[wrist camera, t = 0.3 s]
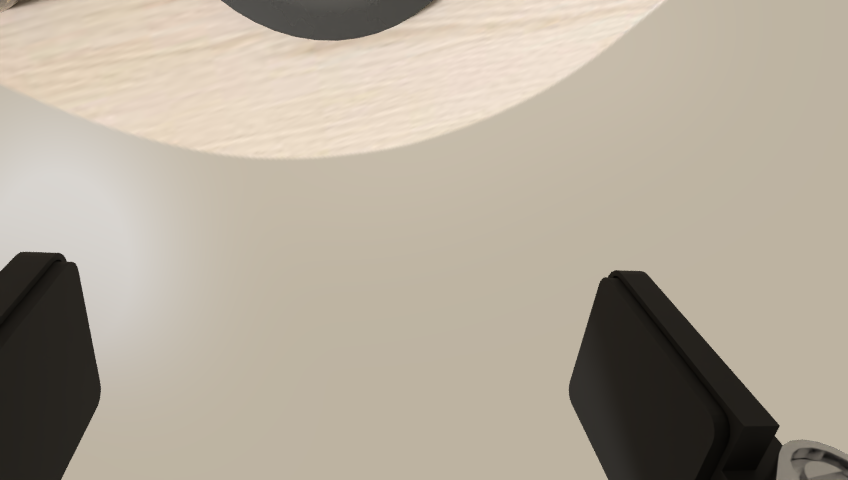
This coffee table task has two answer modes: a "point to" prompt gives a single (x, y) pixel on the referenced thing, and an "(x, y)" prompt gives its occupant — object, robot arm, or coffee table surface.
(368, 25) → the carrier plate
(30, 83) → the coffee table surface
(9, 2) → the supplement bottle
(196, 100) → the coffee table surface
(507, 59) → the coffee table surface
